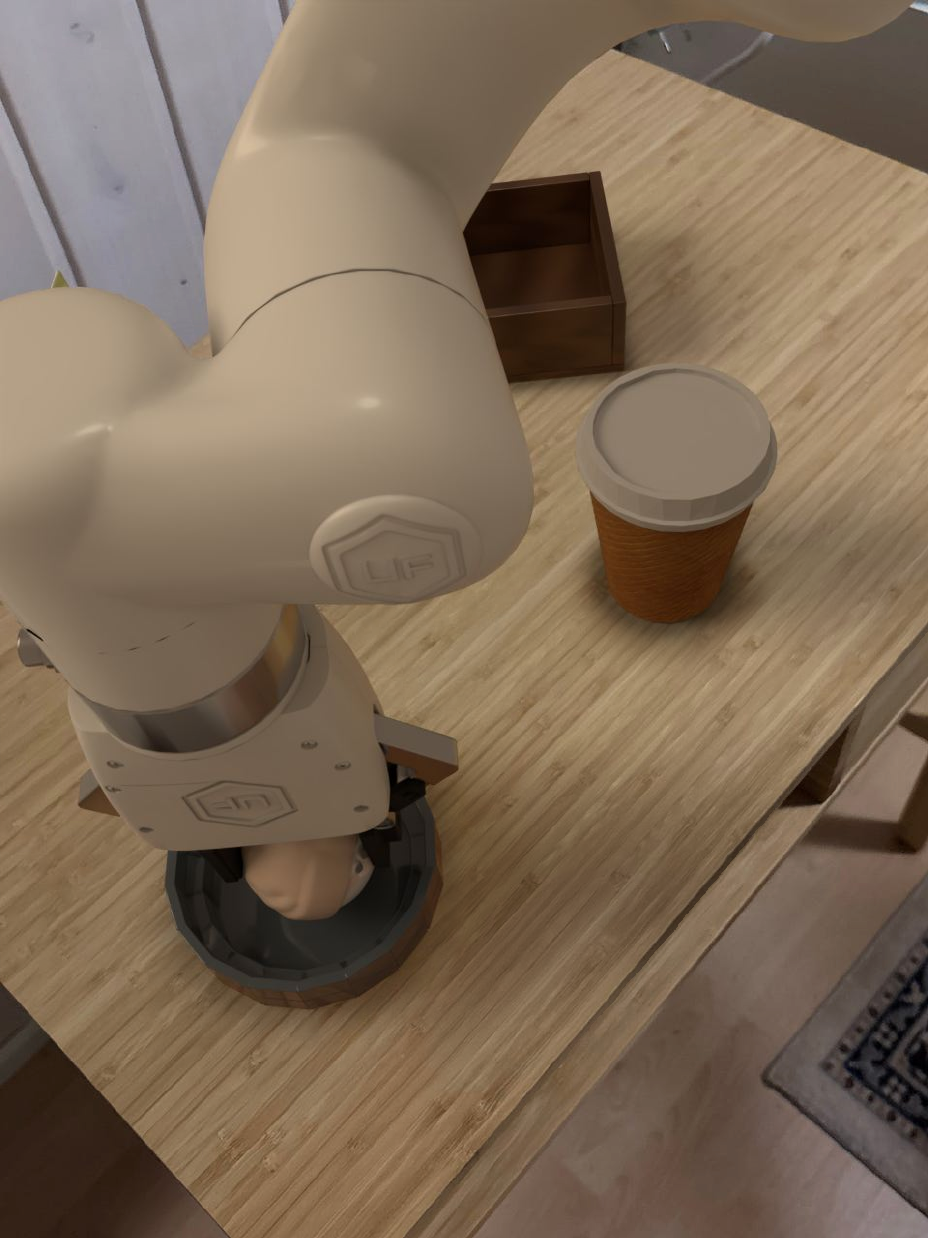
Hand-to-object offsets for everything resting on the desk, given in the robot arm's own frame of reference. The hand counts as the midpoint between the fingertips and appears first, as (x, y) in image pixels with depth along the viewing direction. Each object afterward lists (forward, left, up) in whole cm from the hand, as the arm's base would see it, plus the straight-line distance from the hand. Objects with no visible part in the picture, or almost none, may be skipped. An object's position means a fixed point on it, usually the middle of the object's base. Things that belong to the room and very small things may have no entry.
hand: (308, 843), depth 52 cm
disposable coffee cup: (-19, -16, -4) cm, 25 cm away
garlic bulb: (0, 0, -3) cm, 3 cm away
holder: (-12, -38, -4) cm, 40 cm away
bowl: (+1, 0, -4) cm, 4 cm away
